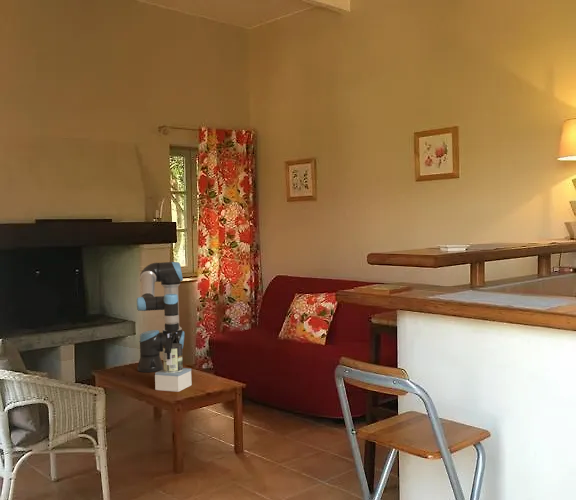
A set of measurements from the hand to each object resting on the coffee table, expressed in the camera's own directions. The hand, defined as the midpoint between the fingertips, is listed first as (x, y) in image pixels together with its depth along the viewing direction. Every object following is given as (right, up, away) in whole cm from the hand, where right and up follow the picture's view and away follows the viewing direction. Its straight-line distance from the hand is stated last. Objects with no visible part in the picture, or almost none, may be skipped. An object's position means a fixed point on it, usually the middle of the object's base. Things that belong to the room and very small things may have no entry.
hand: (172, 362), depth 348 cm
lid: (0, -6, 0) cm, 6 cm away
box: (0, -14, +1) cm, 14 cm away
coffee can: (0, -5, 0) cm, 5 cm away
